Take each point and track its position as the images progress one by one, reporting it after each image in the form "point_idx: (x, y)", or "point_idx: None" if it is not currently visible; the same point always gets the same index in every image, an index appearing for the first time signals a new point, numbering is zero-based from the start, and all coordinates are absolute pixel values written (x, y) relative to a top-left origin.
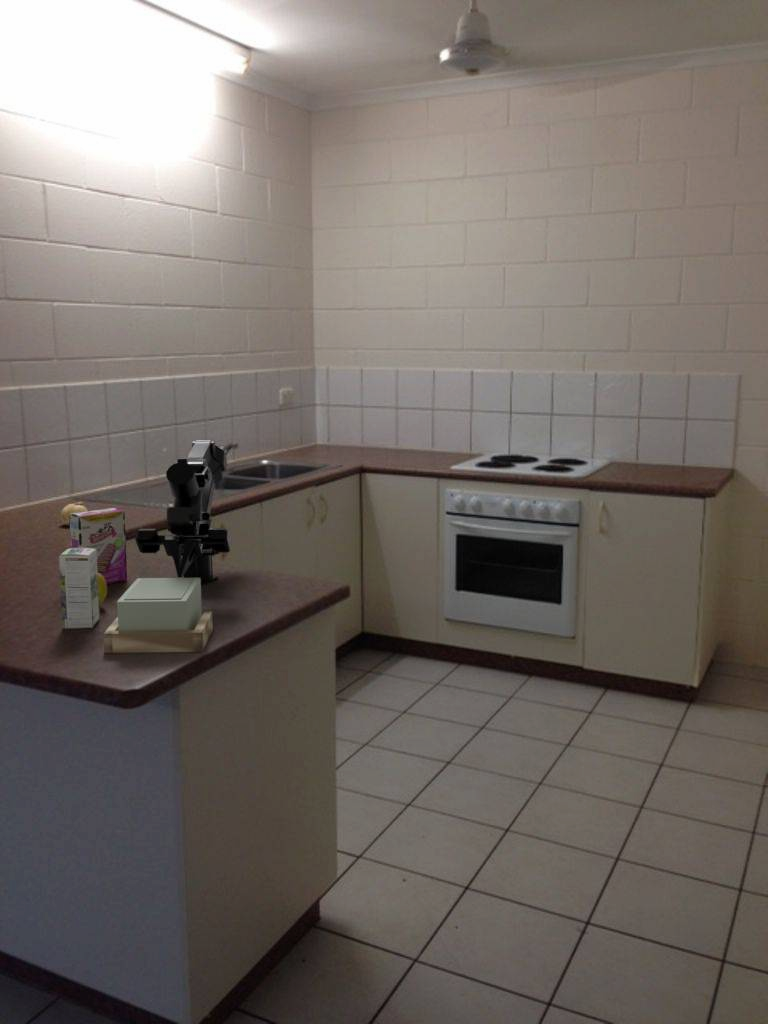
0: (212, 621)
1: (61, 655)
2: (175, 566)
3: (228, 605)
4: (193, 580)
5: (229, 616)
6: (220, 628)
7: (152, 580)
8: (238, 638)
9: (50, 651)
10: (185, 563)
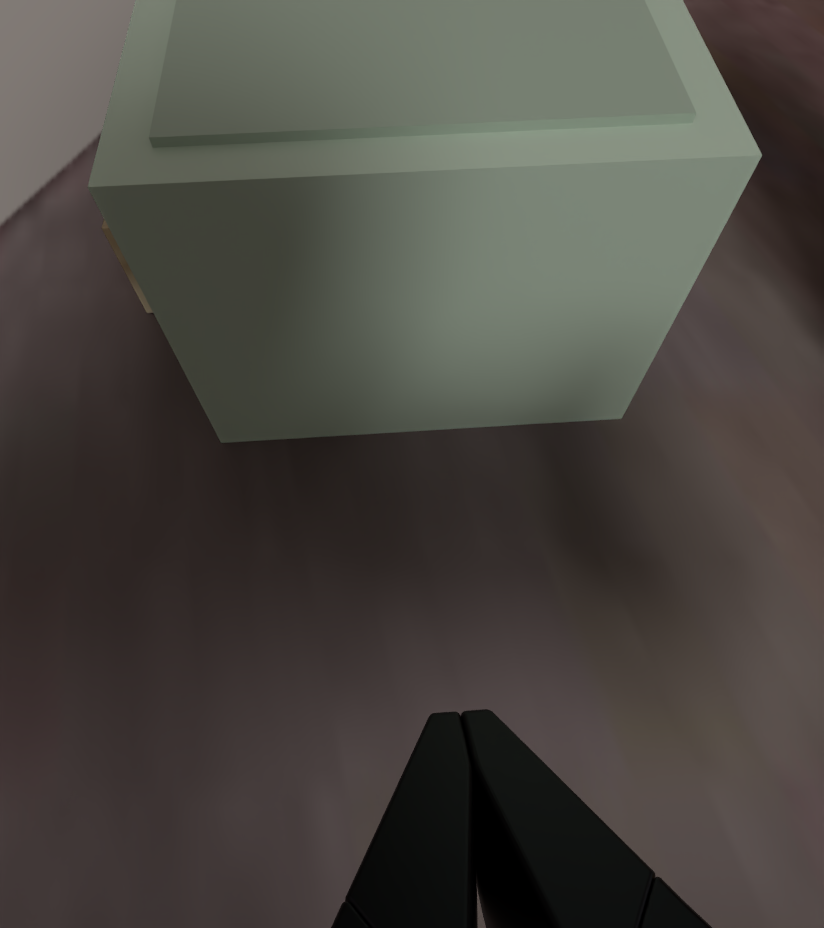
0: (128, 276)
1: (735, 56)
2: (561, 784)
3: (9, 886)
4: (158, 110)
5: (30, 552)
6: (103, 332)
7: (554, 71)
8: (17, 210)
9: (810, 83)
10: (375, 836)
